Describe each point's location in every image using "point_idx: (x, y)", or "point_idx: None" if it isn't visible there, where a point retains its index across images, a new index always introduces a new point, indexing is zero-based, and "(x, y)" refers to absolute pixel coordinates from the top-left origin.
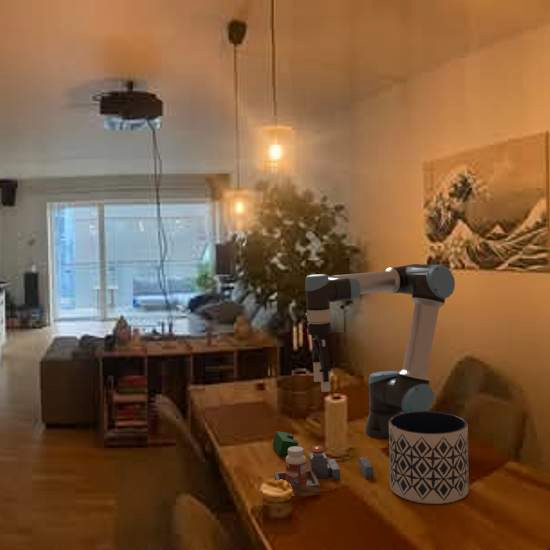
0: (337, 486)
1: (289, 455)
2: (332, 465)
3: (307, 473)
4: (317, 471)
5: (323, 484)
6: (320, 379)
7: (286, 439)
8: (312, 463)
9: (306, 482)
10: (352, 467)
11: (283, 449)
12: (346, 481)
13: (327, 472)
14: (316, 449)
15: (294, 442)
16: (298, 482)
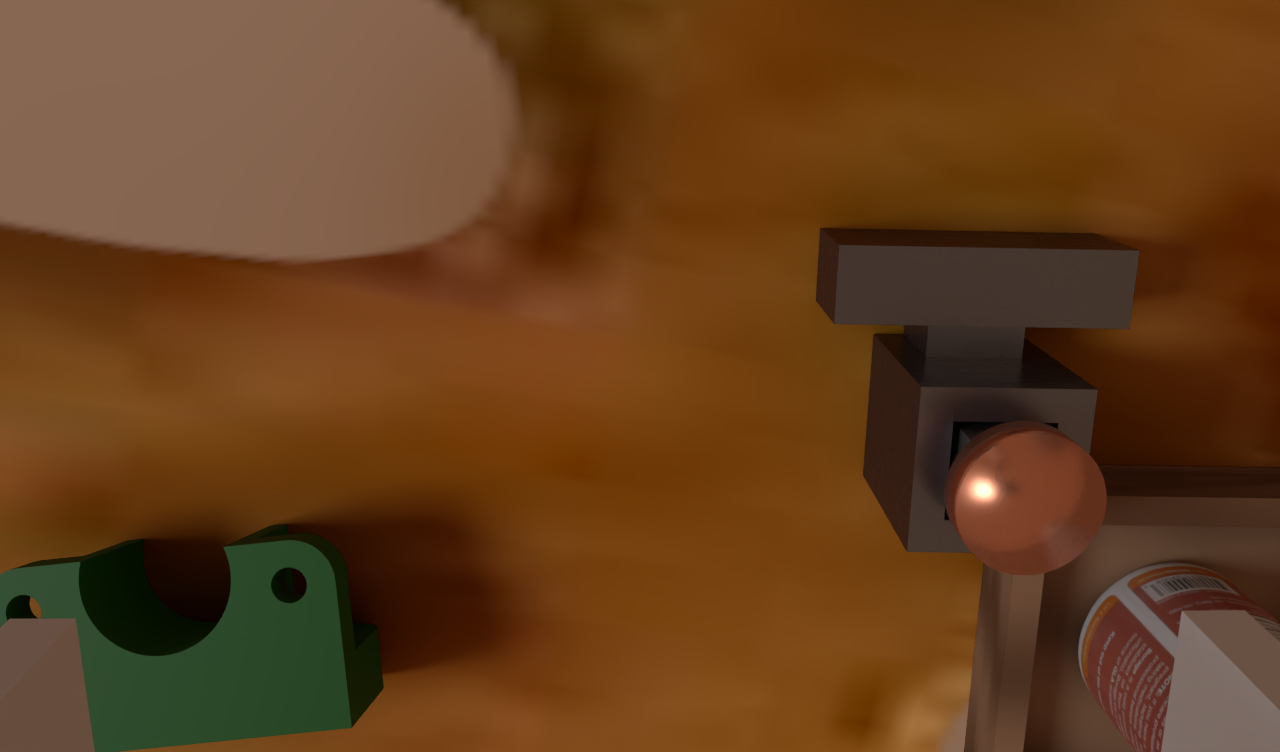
0: (1217, 288)
1: None
2: (1016, 303)
3: None
4: None
5: (1135, 398)
6: (53, 694)
7: (276, 676)
8: None
9: (1212, 573)
10: (801, 35)
11: (371, 674)
12: (1133, 181)
13: (1042, 352)
14: (1089, 529)
15: (338, 593)
16: None
